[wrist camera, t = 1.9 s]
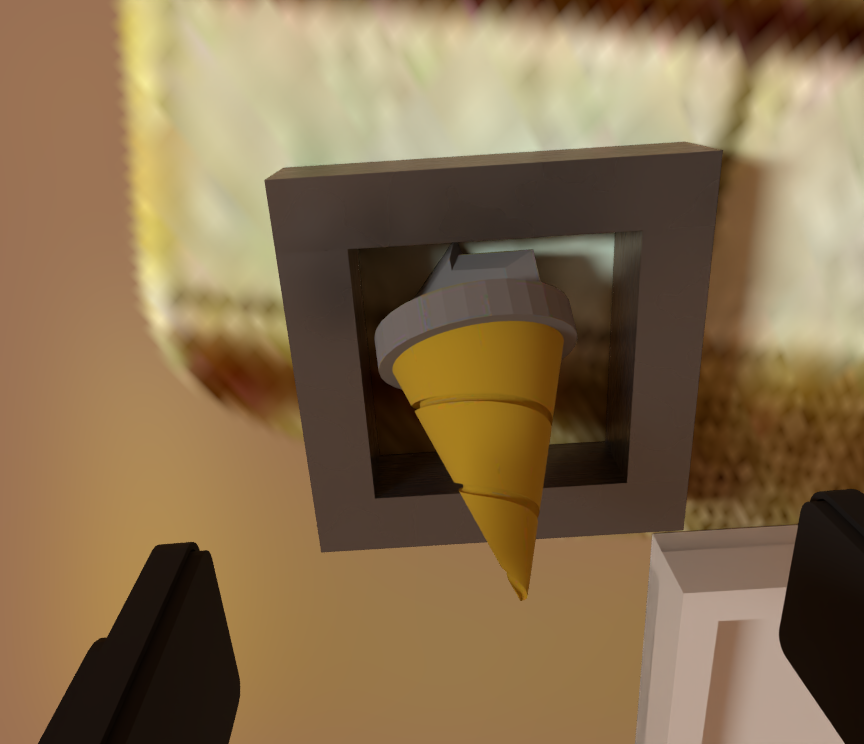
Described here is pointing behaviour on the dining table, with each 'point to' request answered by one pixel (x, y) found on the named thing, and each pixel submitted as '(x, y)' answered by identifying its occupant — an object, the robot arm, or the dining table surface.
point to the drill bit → (485, 385)
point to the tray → (722, 643)
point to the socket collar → (493, 220)
